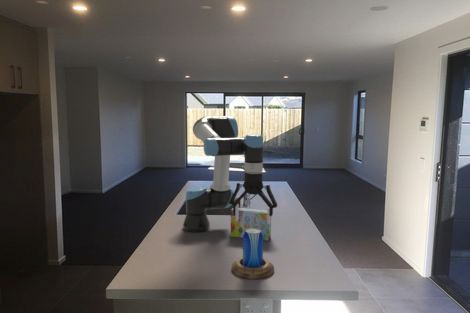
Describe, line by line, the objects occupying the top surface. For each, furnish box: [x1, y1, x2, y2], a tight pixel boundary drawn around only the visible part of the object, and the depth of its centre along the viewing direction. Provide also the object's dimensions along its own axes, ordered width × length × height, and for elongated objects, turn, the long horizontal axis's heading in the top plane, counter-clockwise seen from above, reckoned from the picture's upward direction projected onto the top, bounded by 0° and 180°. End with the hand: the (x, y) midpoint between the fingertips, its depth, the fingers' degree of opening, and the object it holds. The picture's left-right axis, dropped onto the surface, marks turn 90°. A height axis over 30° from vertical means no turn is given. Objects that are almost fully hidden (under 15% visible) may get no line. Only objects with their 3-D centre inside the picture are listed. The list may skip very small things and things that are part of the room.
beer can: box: [242, 228, 264, 268], centre depth 149 cm, size 8×8×16 cm
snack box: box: [230, 207, 272, 242], centre depth 187 cm, size 21×6×15 cm, turn 71°
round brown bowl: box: [231, 256, 275, 281], centre depth 150 cm, size 18×18×3 cm
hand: (252, 221), depth 148 cm, fingers open, 13 cm apart
